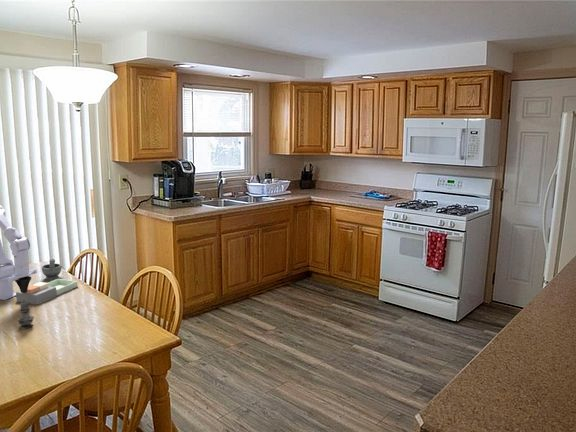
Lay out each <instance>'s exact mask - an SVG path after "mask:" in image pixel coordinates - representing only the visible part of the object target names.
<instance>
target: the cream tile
mask: <svg viewBox="0 0 576 432" xmlns="http://www.w3.org/2000/svg"><path fill="white" fill-rule="evenodd" d="M48 283H49V282H44V281H43V282H42V281H39V282H36V283H33V284H31V286H38V287H39V289H40V290H42V289H45V288H47V287H48Z"/></svg>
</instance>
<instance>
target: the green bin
mask: <svg viewBox="0 0 576 432" xmlns="http://www.w3.org/2000/svg"><path fill="white" fill-rule="evenodd" d="M47 283H48V286H51V287H56V296H55V297H57V296H60V295H63V294H64V293H66V292H67V293H68V292H70V291H72V290H74V289H76V288H78V287H79V286H78V281H77V280H70V279H63V278H57V279H54V280H50V281H49V282H47ZM73 288H74V289H73Z"/></svg>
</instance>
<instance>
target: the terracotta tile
mask: <svg viewBox="0 0 576 432" xmlns="http://www.w3.org/2000/svg"><path fill="white" fill-rule="evenodd" d="M38 291H40V289H39V287H38V286H32V285H28V289H27V292H26V293H28V294H33V293H35V292H38Z"/></svg>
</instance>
